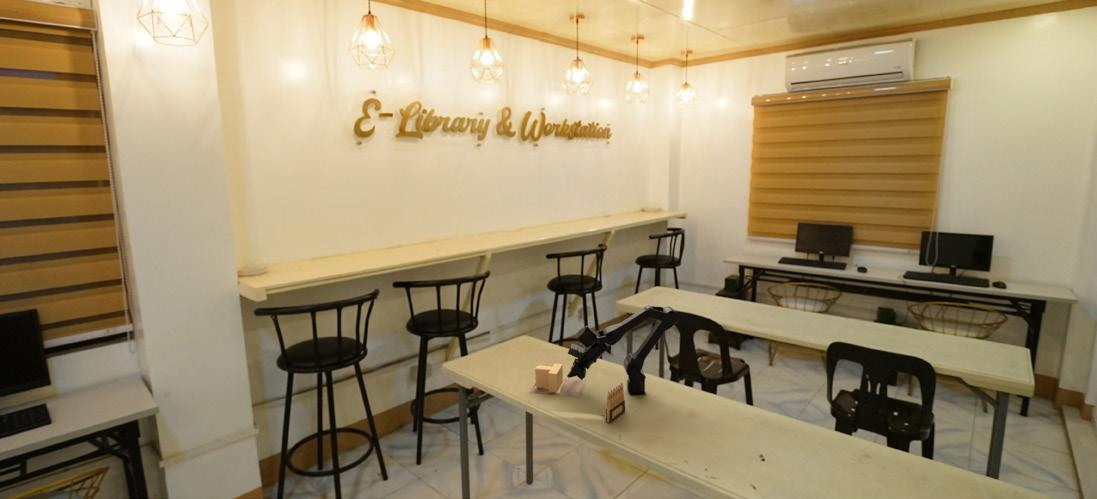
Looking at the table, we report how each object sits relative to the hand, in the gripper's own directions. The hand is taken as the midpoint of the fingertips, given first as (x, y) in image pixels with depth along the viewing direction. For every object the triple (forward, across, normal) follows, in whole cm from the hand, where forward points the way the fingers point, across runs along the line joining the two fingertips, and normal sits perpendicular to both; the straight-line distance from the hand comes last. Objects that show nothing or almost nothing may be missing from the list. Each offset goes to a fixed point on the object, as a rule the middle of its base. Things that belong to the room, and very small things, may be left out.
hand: (568, 376), depth 215 cm
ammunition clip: (-10, +18, +20) cm, 29 cm away
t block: (+9, 0, -3) cm, 10 cm away
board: (+7, 0, +1) cm, 7 cm away
